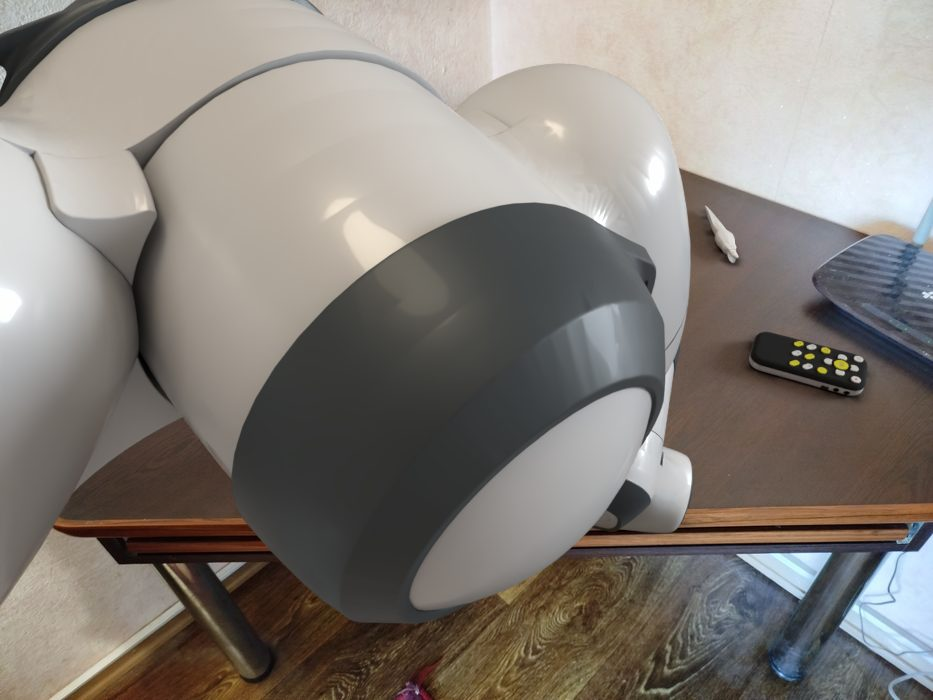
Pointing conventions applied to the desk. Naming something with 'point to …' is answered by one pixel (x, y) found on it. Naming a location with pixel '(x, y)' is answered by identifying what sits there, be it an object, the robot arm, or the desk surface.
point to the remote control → (809, 363)
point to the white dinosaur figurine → (722, 236)
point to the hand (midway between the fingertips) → (386, 431)
